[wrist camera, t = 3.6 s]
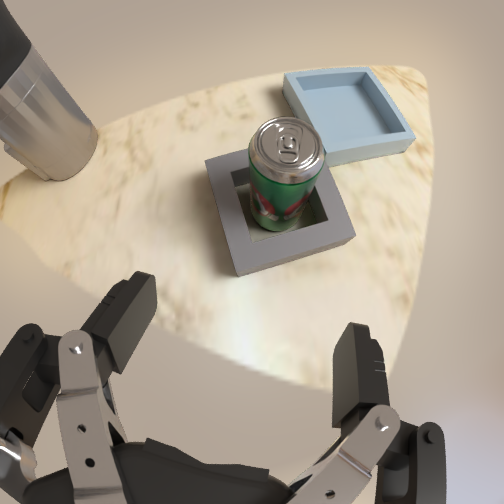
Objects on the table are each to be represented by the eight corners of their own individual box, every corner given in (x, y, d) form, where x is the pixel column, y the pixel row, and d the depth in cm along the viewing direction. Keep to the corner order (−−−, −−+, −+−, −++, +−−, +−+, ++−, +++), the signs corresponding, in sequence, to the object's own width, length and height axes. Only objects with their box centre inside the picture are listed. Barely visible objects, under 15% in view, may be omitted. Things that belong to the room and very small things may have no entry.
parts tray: (319, 169, 29) (326, 153, 26) (282, 92, 31) (284, 73, 28) (403, 152, 30) (416, 137, 26) (361, 83, 32) (368, 66, 28)
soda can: (301, 187, 29) (326, 116, 17) (300, 234, 28) (330, 182, 16) (252, 184, 29) (250, 109, 17) (249, 230, 28) (244, 174, 16)
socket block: (238, 277, 27) (236, 272, 23) (209, 176, 29) (204, 160, 26) (344, 244, 27) (356, 235, 24) (307, 151, 29) (312, 133, 26)
